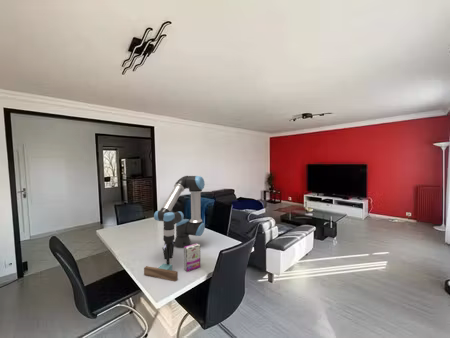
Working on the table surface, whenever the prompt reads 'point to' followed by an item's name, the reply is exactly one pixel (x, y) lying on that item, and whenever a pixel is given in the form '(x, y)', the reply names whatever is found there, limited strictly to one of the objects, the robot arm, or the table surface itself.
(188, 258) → the candy bar box
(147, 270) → the curved walnut bar
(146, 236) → the table surface
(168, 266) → the teal block
